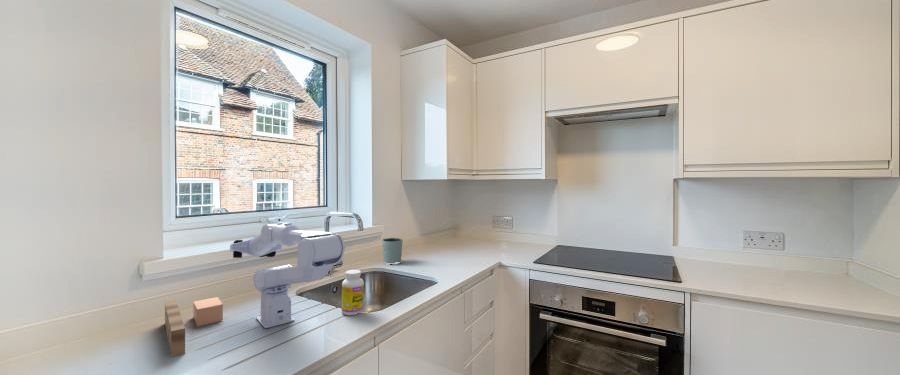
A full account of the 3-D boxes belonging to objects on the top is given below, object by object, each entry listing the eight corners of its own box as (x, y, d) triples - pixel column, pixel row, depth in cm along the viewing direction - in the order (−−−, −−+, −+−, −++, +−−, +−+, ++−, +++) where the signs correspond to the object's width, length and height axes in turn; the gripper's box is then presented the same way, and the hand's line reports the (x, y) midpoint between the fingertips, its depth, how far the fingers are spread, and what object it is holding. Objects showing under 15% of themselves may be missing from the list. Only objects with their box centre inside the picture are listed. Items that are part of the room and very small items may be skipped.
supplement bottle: (351, 317, 101) (352, 275, 101) (337, 313, 105) (337, 272, 104) (367, 310, 107) (368, 270, 106) (353, 306, 110) (353, 267, 110)
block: (222, 321, 98) (222, 304, 98) (197, 327, 94) (197, 309, 94) (217, 312, 104) (217, 297, 103) (193, 318, 99) (193, 301, 99)
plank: (185, 353, 79) (185, 328, 79) (171, 356, 78) (171, 331, 77) (176, 321, 97) (176, 300, 97) (164, 323, 95) (164, 302, 95)
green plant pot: (403, 260, 173) (403, 237, 173) (401, 265, 163) (401, 241, 163) (383, 260, 173) (383, 237, 172) (380, 265, 162) (380, 241, 162)
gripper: (286, 230, 110) (270, 242, 118) (237, 229, 100) (222, 242, 107) (287, 251, 108) (270, 262, 116) (237, 252, 97) (221, 264, 105)
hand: (247, 254), depth 111 cm, fingers open, 7 cm apart
